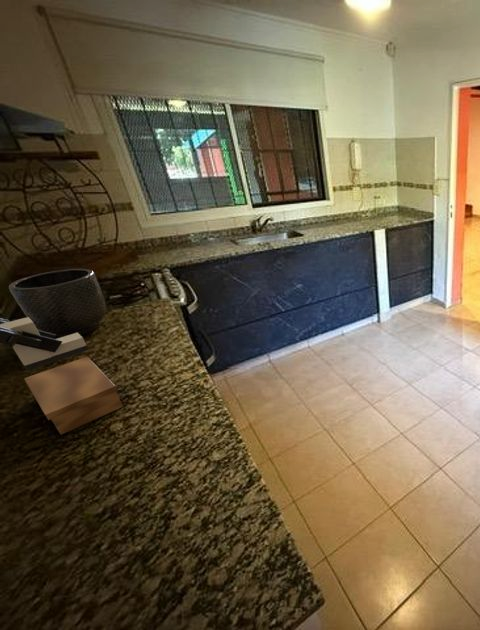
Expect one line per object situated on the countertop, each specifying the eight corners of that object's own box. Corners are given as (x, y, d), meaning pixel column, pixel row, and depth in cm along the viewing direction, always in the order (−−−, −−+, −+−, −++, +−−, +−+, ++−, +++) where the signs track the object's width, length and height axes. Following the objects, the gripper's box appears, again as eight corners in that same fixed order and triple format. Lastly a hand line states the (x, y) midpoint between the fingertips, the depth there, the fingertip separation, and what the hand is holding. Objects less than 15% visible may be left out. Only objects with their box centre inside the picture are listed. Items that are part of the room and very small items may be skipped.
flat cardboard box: (58, 436, 74) (45, 414, 72) (35, 397, 86) (23, 378, 83) (125, 405, 83) (115, 385, 80) (96, 374, 95) (87, 356, 92)
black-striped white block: (27, 370, 74) (2, 330, 70) (22, 363, 77) (-2, 324, 72) (89, 350, 82) (70, 312, 77) (83, 344, 84) (64, 307, 80)
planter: (117, 313, 130) (96, 265, 122) (113, 333, 116) (89, 280, 107) (46, 327, 120) (18, 275, 112) (31, 351, 105) (-3, 294, 97)
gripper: (-135, 307, 63) (35, 346, 82) (-137, 334, 54) (54, 371, 73) (-105, 272, 64) (55, 319, 84) (-102, 292, 55) (76, 339, 75)
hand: (54, 343), depth 78 cm, fingers closed on black-striped white block, 4 cm apart
